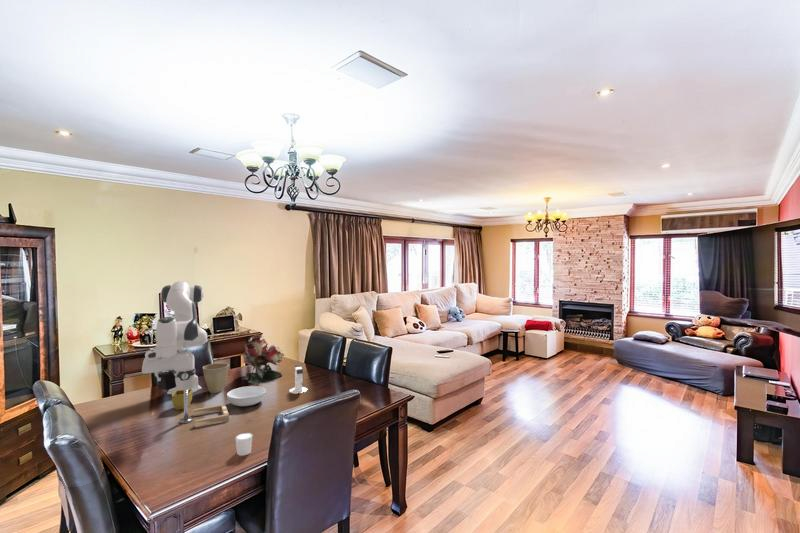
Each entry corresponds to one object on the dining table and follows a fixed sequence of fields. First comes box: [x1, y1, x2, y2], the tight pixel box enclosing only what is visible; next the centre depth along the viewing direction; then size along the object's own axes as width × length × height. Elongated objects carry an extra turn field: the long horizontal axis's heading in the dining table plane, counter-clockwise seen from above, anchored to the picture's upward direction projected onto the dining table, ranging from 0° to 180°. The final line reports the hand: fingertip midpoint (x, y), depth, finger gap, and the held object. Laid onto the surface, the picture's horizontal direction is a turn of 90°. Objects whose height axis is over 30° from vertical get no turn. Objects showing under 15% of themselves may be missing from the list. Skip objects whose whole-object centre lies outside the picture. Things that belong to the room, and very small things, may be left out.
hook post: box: [178, 390, 194, 425], centre depth 194 cm, size 10×6×16 cm, turn 31°
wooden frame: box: [192, 403, 230, 428], centre depth 200 cm, size 18×16×3 cm
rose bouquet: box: [241, 334, 285, 385], centre depth 271 cm, size 26×29×30 cm
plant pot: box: [202, 362, 230, 394], centre depth 241 cm, size 15×15×16 cm
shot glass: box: [235, 432, 254, 456], centre depth 165 cm, size 7×7×7 cm
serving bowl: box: [226, 385, 267, 407], centre depth 221 cm, size 21×21×7 cm
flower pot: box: [171, 389, 194, 411], centre depth 213 cm, size 9×9×9 cm
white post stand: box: [289, 364, 309, 395], centre depth 242 cm, size 12×11×15 cm
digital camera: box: [157, 370, 176, 391], centre depth 185 cm, size 10×5×7 cm, turn 51°
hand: (167, 379), depth 185 cm, fingers closed on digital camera, 5 cm apart
